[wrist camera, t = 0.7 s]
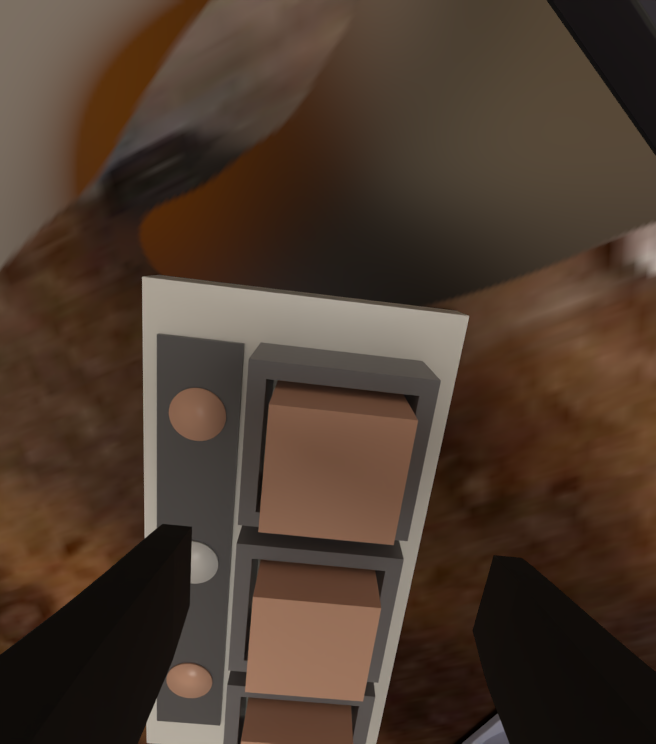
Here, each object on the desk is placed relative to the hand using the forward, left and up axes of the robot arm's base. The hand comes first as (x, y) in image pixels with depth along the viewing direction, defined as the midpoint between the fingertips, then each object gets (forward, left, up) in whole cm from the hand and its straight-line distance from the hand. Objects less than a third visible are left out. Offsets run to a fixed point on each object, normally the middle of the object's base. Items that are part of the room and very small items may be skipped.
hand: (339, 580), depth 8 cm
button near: (0, 0, -6) cm, 6 cm away
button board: (-2, +7, -9) cm, 12 cm away
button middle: (-3, +6, -6) cm, 9 cm away
